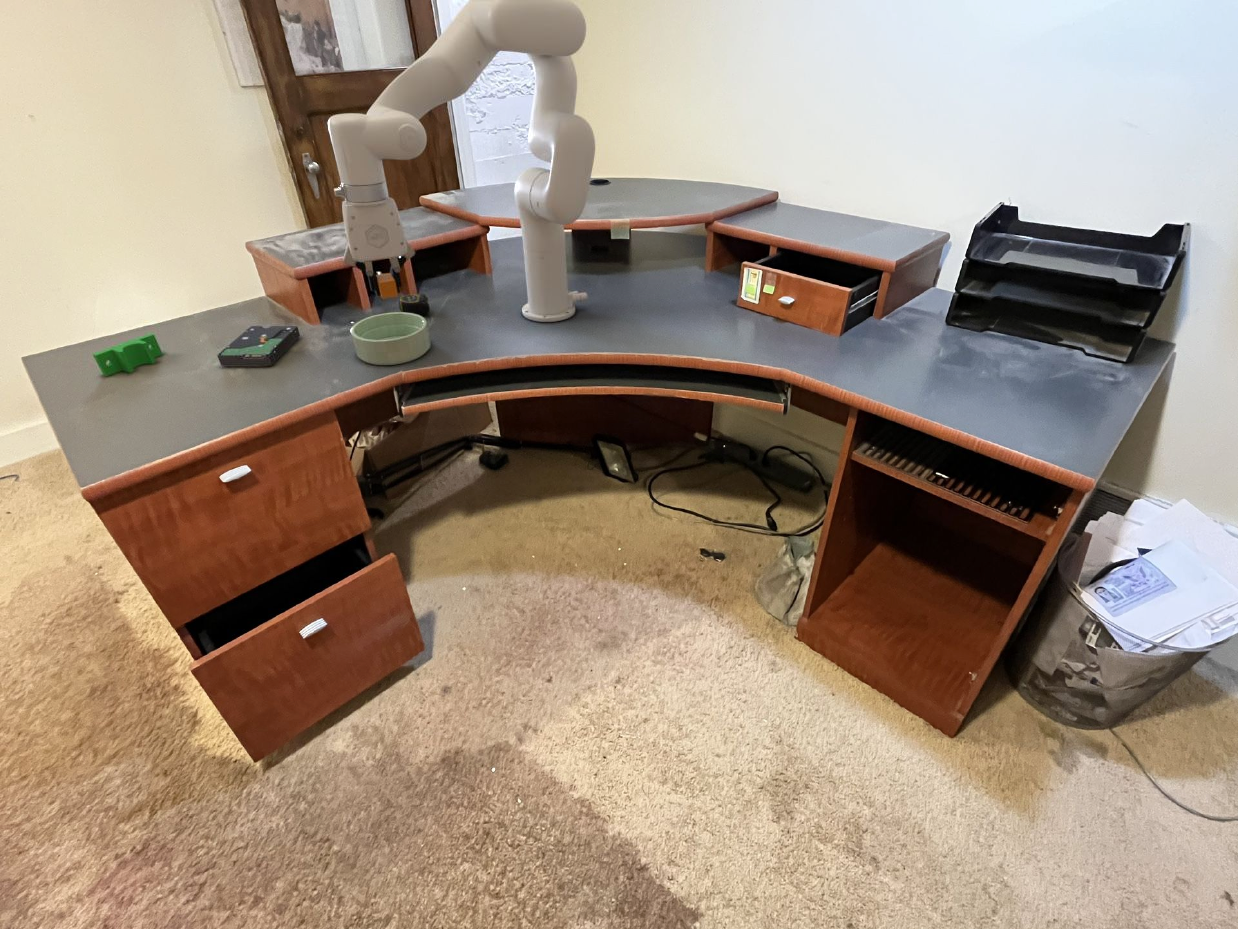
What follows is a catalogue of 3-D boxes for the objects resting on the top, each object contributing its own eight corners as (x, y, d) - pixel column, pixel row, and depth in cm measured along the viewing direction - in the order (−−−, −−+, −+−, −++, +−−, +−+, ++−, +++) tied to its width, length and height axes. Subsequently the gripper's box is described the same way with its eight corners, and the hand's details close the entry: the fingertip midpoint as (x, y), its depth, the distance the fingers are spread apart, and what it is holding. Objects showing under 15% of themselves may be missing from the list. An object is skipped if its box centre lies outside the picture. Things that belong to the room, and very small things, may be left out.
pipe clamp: (115, 379, 121) (103, 358, 118) (103, 375, 122) (92, 354, 119) (171, 356, 129) (161, 336, 126) (160, 353, 130) (150, 332, 127)
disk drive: (254, 337, 137) (220, 367, 125) (250, 325, 135) (215, 354, 123) (301, 337, 137) (272, 366, 125) (297, 325, 135) (268, 354, 123)
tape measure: (431, 317, 146) (428, 301, 144) (401, 320, 144) (397, 304, 142) (429, 306, 151) (426, 291, 149) (400, 309, 150) (396, 294, 147)
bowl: (422, 331, 139) (417, 307, 136) (438, 357, 128) (433, 332, 125) (352, 343, 134) (346, 319, 131) (362, 372, 123) (356, 347, 120)
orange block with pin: (398, 296, 120) (395, 280, 118) (382, 299, 119) (378, 282, 117) (387, 278, 128) (384, 263, 127) (372, 280, 127) (369, 265, 126)
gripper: (319, 201, 106) (346, 305, 116) (416, 192, 112) (433, 292, 122) (315, 192, 111) (341, 292, 122) (408, 184, 117) (425, 280, 128)
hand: (387, 291), depth 122 cm, fingers closed on orange block with pin, 3 cm apart
